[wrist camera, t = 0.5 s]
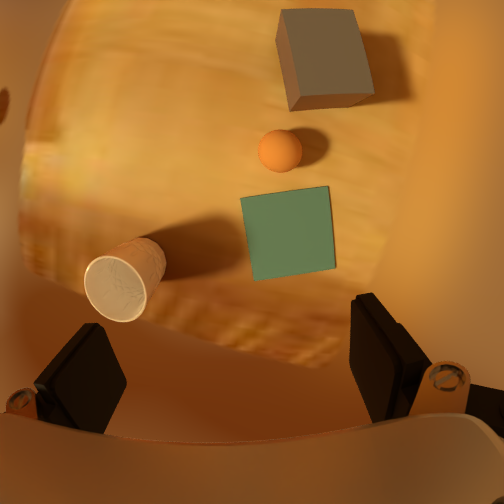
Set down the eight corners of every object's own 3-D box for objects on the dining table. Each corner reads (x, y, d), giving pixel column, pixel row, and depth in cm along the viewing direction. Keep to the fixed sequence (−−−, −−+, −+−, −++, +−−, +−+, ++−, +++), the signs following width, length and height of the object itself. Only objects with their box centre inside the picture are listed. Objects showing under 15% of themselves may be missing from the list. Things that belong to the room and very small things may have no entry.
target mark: (240, 198, 36) (240, 198, 36) (327, 186, 35) (327, 186, 35) (254, 280, 39) (254, 280, 39) (334, 267, 38) (335, 268, 38)
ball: (254, 135, 34) (255, 130, 29) (295, 129, 33) (302, 124, 28) (261, 174, 35) (262, 176, 30) (301, 169, 35) (308, 170, 30)
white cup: (180, 250, 38) (157, 279, 28) (158, 296, 40) (134, 333, 30) (130, 222, 37) (94, 242, 27) (112, 269, 39) (77, 299, 29)
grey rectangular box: (275, 40, 30) (281, 9, 21) (333, 38, 29) (352, 9, 21) (289, 111, 33) (300, 96, 24) (348, 107, 32) (375, 93, 24)
